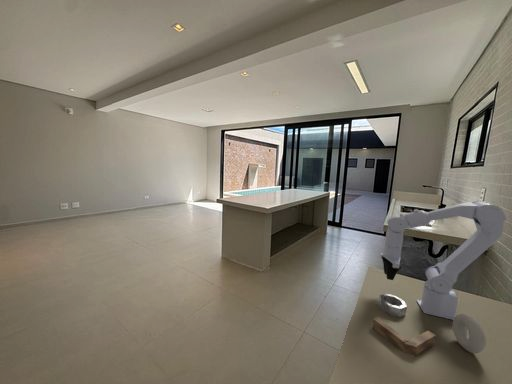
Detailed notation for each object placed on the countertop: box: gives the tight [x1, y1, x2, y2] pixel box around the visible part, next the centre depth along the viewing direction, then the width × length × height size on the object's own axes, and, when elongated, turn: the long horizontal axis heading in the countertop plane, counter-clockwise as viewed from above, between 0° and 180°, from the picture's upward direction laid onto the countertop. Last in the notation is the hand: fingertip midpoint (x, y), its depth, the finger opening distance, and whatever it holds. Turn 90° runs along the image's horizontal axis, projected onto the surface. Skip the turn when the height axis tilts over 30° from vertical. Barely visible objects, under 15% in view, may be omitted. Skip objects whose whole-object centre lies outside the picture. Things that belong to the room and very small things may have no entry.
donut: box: [452, 313, 487, 354], centre depth 64 cm, size 10×4×10 cm, turn 168°
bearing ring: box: [377, 292, 408, 319], centre depth 80 cm, size 8×8×4 cm
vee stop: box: [372, 317, 436, 357], centre depth 65 cm, size 17×9×3 cm, turn 70°
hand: (388, 276), depth 88 cm, fingers open, 4 cm apart
